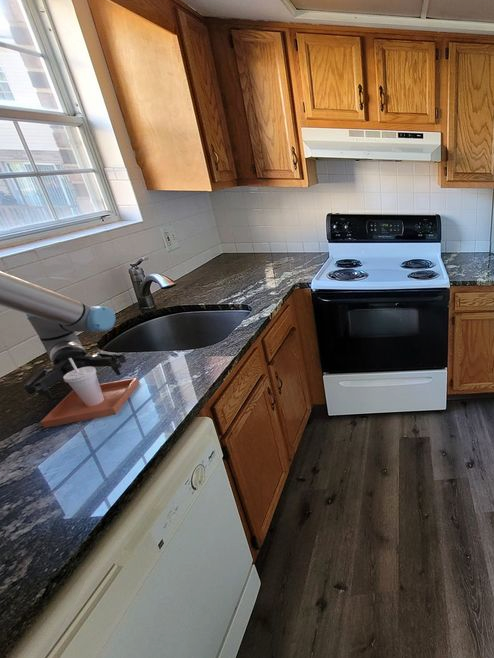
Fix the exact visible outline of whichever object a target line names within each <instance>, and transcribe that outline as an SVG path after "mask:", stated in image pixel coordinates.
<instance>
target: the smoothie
mask: <svg viewBox="0 0 494 658" xmlns="http://www.w3.org/2000/svg"><path fill="white" fill-rule="evenodd" d="M69 361H70V363H71V364H72V366H73V368H74V370H73V371H71V372H69V373H67V374H66V375H64V377H63V378H62V379H63V382H65V383H68V386H69V387H70V388H71V389H72V390H74V391H75V392H76V393H77V395H78V396H79V397H80V398H81V399H82V401H83V402H84V403H85V404H86V405H87V406H94V405H97V404H99V403H101V402H102V401H104V397H103V394H102V391H101V388H100V385H99V384H100V382H99V379H98V375H97V371H98V370H97V369H96V367H91V366H89V367H82V368H78V369H77V367H76V366H75V364H74V362H73V360H72V358H69Z"/></svg>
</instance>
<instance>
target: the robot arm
mask: <svg viewBox="0 0 494 658" xmlns="http://www.w3.org/2000/svg"><path fill="white" fill-rule="evenodd" d="M0 307H3V308H7V309H10V310H12V311H16V312H19V313H22V314H25V315H26V317H27V320H28V321H29V323H30V325H31V326H32V328H33V330H34V331H35V332H36V334H37V336H38V338H39V340H40V342H41V344H42V345H43V348H44V350H45V351H46V353H47V354H48V356H49V359H50V361H51V363H52V365H53V366H52V368H49V369H47V368H44V367H42V368H41V367H40V368H38V369H37V372H36V374H34V375H33V376H32V377H31V378H30V379H29V380H28V381H27V382H25V384H23V386H22V387H23V389H24V390H25V392H26V393H27V395H32V394H35V393H37V394H38V396H41V395H45V397H46V399H47V400H48V401H50V400H53V398H54V397H53V396H52V393H51V391H50V388H49V387H51V386H52V385H53V384H55V383H57V381H59V380H61V379H63V377H64V375H66V374H67V373H69V372H71V371H73V370H74V368H73V366H72V364H71V363H70V361H69V358H72V360H73V362H74V364H75V366H76V367H77V369H78V368H82V367H89V366H91V367H95V368H102V367H103V368H105V367H111V369H112V370H113V372H114V373H115V374H116V376H121V375H122V374H121V372H120V370H119V369H120V368H122V364H123V363H127V358H126V356H125V354H124V353H120V352H111V351H104V350H102V349H101V350H98V351H97V352H96V354H94V355H92V354H89V353H88V352H87V350H86V349H85V347H84V346H83V345H82V343H81V341H80V339H79V337H78V335H77V334H76V333H98V332H106V331H110V329H111V330H112V328H113V327H114V325H115V324H116V321H117V320H116V319H117V318H116V314H115V312H114V311H113V310H112V309H111V308H109V307H107V306H101V305H90V304H87V303H85V302H81V301H79V300H76V299H74V298H71V297H68V296H66V295H63V294H60V293H58V292H55V291H52V290H50V289H48V288H44V287H43V286H40V285H37V284H35V283H32V282H29V281H26V280H24V279H21V278H19V277H16V276H14V275H11V274H8V273H7V272H3V271H1V270H0Z"/></svg>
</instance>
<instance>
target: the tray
mask: <svg viewBox="0 0 494 658" xmlns="http://www.w3.org/2000/svg"><path fill="white" fill-rule="evenodd" d="M99 385H100V388H101V391H102V394H103V397H104V401H102V402H101V403H99V404H97V405H94V406H87V405H86V404H85V403H84V402H83V401H82V399H81V398H80V397H79V396H78V395H77V393H76V392H75V391H74V390H73V389H72V390H71V391H70V392H69V393H68V394H67V395H65V397H64V398H63V399H62V400H61V401H60V402H59V403H57V405H56V406H55V407H53V409H52V410H50V412H48V414H46V416H45V417H44V418H43V419H41V420H40V424H41V425H42V427H43V428H44V429H46V428H50V427H52V428H53V427H57V426H61V425H66V424H71V423H77V422H82V421H87V420H88V421H89V420H93V419H98V418H102V417H108V416H113V415H117V414H118V413H119V411H120V410H121V409H122V407H123V406H124V405H125V403H126V402H127V401H128V399H129V398H130V397H131V395H132V394H133V393H134V391H135V390H136V388H138V386H139V385H140V381H139V379H138V377H133V378H132V377H131V378H126V379H122V380H115V381H110V382H109V381H108V382H103V383H99Z"/></svg>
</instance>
